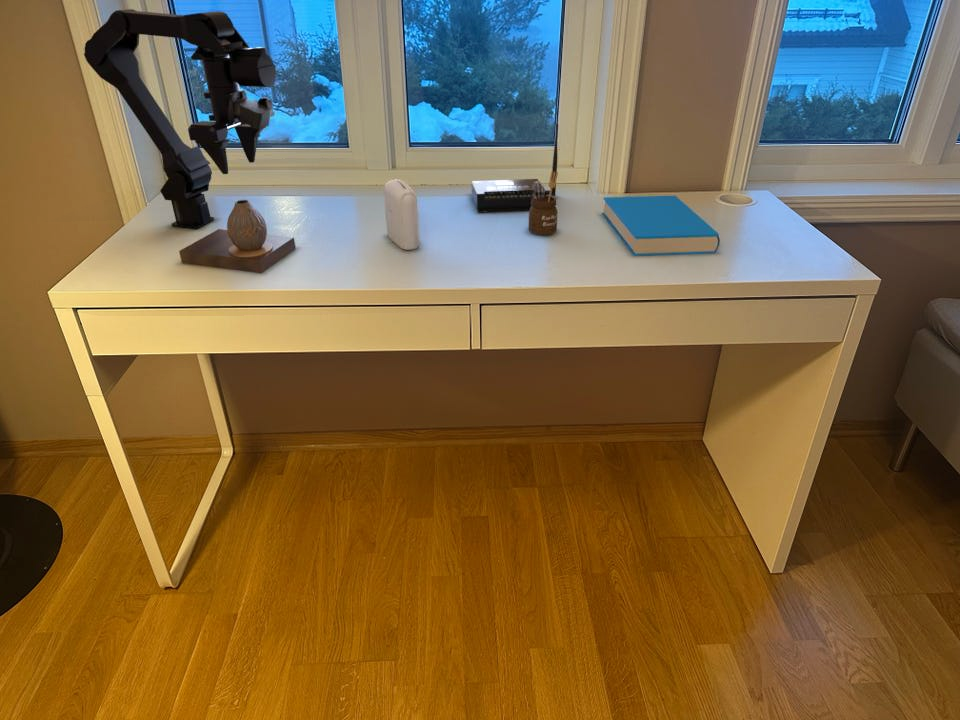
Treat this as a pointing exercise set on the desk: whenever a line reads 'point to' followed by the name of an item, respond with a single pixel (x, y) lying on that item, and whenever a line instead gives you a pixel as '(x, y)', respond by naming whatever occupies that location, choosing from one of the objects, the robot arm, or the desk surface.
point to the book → (659, 226)
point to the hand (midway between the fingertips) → (238, 167)
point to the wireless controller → (510, 191)
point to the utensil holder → (543, 212)
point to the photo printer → (401, 214)
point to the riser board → (236, 252)
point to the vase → (246, 227)
